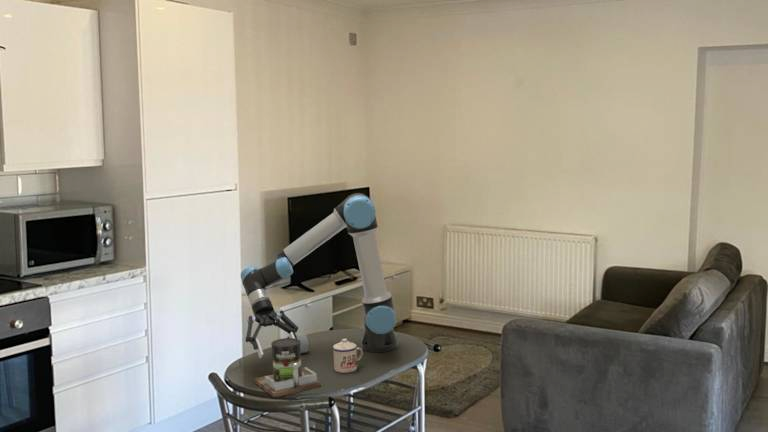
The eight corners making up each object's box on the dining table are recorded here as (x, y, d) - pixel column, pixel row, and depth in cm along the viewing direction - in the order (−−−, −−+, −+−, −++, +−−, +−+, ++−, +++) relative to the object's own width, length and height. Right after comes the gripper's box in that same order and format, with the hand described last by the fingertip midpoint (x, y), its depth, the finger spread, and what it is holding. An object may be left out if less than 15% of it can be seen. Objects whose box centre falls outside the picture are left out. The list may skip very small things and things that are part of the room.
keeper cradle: (265, 384, 272) (263, 360, 270) (306, 375, 280) (305, 352, 278) (276, 392, 263) (275, 368, 262) (318, 383, 271) (317, 359, 270)
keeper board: (254, 382, 278) (254, 378, 278) (300, 372, 287) (300, 368, 287) (273, 397, 263) (273, 393, 263) (321, 386, 272) (321, 382, 272)
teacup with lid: (341, 375, 283) (339, 344, 281) (329, 368, 290) (328, 338, 289) (369, 368, 289) (367, 338, 287) (357, 362, 297) (355, 332, 295)
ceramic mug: (311, 354, 309) (310, 335, 308) (292, 357, 305) (291, 338, 304) (302, 347, 318) (300, 329, 317) (283, 351, 315) (282, 332, 314)
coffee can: (301, 384, 270) (299, 345, 268) (272, 386, 270) (270, 347, 268) (303, 374, 280) (301, 337, 278) (274, 376, 280) (272, 338, 278)
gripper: (289, 304, 298) (307, 351, 287) (227, 314, 285) (244, 364, 274) (293, 293, 292) (313, 340, 282) (231, 303, 280) (248, 354, 269)
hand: (279, 352), depth 278 cm, fingers open, 13 cm apart
